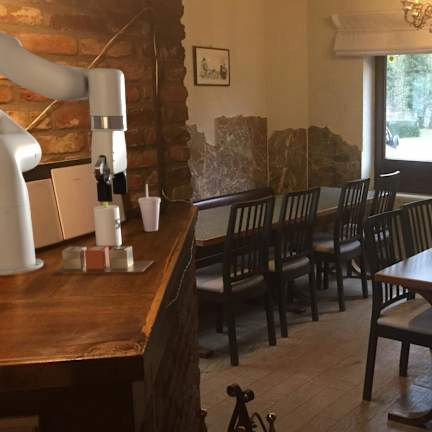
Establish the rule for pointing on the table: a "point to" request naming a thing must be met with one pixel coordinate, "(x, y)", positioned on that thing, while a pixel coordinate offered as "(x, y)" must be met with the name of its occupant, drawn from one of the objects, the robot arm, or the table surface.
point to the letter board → (135, 267)
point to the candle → (107, 225)
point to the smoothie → (149, 211)
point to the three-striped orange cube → (97, 257)
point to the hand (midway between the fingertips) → (113, 197)
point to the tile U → (121, 257)
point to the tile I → (74, 257)
